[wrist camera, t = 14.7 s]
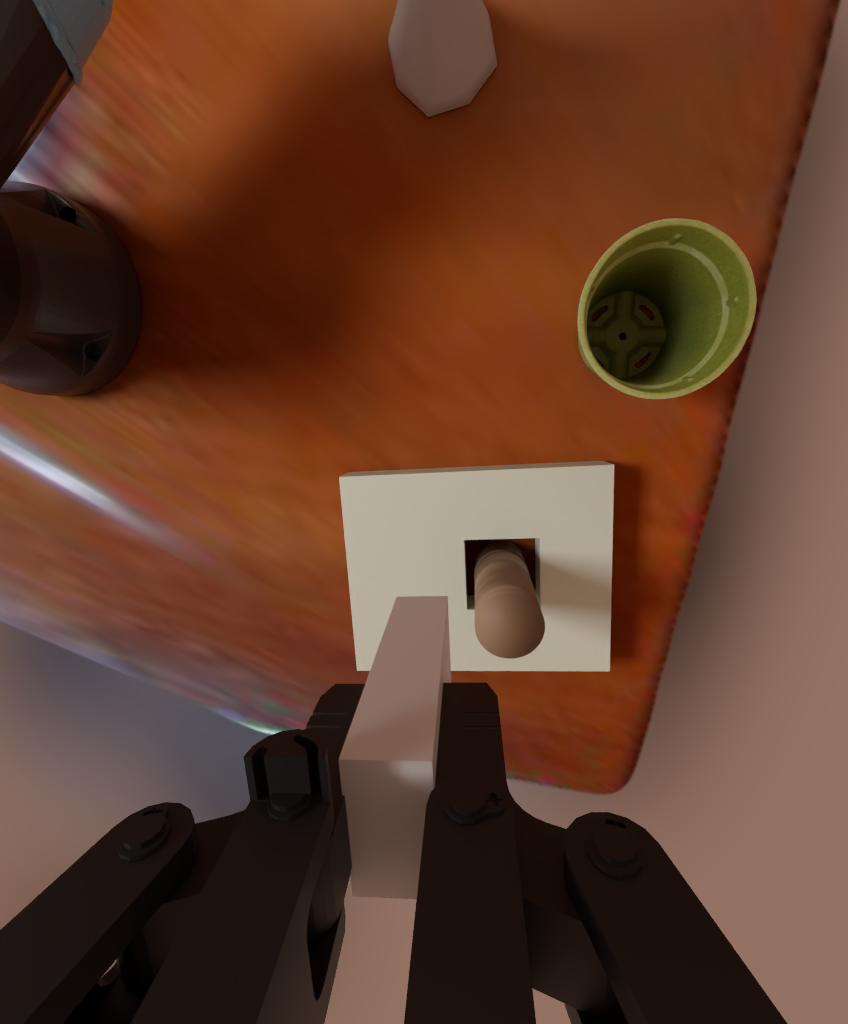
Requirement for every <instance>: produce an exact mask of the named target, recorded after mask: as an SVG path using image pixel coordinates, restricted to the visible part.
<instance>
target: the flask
mask: <svg viewBox="0 0 848 1024" xmlns="http://www.w3.org/2000/svg"><path fill="white" fill-rule="evenodd" d="M388 45H389V50H390V55H391V61H392V66H393V71H394V76H395V81H396V86H397V88H398V89H399V90H400V91H401V92H402V93H403V94H404V95H405V96H406V97H407V98H408V99H409V100H410V101H412V102H413V103H414V104H415V105H416V106H417V107H418V108H419V109H420V110H421V111H422V112H423V113H424V114H425V115H426V116H428V117H430V116H433V115H436V114H439V113H443V112H446V111H449V110H452V109H455V108H459V107H462V106H465V105H468V104H469V103H470V102H471V101H472V99H473V98H474V97H475V95H476V94H477V93H478V91H479V90H480V88H481V87H482V86H483V84H484V83H485V82H486V80H487V79H488V78H489V76H490V75H491V73H492V72H493V71H494V69H495V68H496V67H497V58H496V52H495V46H494V40H493V34H492V28H491V21H490V16H489V14H488V11H487V9H486V7H485V5H484V3H483V1H482V0H398V3H397V7H396V10H395V14H394V17H393V21H392V24H391V28H390V32H389V36H388Z"/></svg>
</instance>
